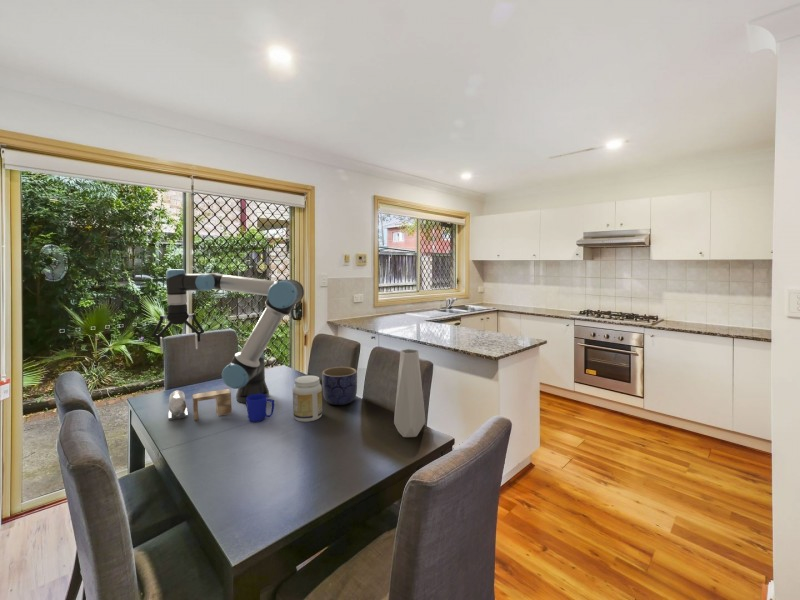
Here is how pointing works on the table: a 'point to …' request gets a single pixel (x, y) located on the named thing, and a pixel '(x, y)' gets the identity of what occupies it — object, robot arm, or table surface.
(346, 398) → the planter
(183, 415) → the v block
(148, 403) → the table surface
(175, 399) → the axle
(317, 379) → the supplement tub
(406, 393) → the vase
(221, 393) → the wooden block with opening
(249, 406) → the mug
